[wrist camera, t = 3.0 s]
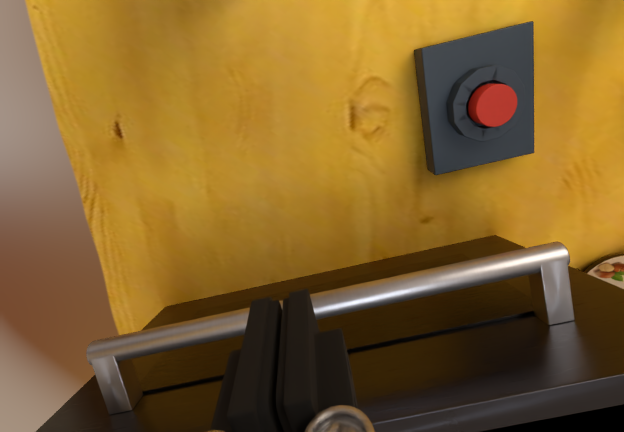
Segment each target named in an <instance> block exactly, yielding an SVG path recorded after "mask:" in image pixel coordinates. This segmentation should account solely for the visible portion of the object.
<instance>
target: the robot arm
mask: <svg viewBox="0 0 624 432" xmlns="http://www.w3.org/2000/svg"><path fill="white" fill-rule="evenodd" d="M206 432H375V430H374V428H373V425H372V423H371V422H370V420H369V418H368V417H367V415H366V414H364V413H363V412H362V411H361V410H360V409H358V405H357V399H356V393H355V388H354V382H353V376H352V371H351V366H350V362H349V357H348V353H347V348H346V344H345V340H344V336H343V332H342V329H341V328H338V329H333V330H328V331H324V332H320V331H319V327H318V324H317V320H316V316H315V313H314V309H313V305H312V301H311V298H310V294H309V291H308V289H303V290H299V291H294V292H290V293H289V298H285V299H283V307H282V308H281V305H280V302H279V300H275V301H273V299H272V298H271V297H266V298H261V299H257V300H253V301H252V302H251V306H250V311H249V316H248V320H247V325H246V329H245V334H244V339H243V343H242V348H241V349H237V350H233V351H231V352H230V355H229V358H228V362H227V366H226V370H225V374H224V377H223V381H222V385H221V389H220V393H219V397H218V401H217V405H216V409H215V413H214V417H213V421H212V424H211V428H210V431H206Z"/></svg>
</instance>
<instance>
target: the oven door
mask: <svg viewBox="0 0 624 432" xmlns="http://www.w3.org/2000/svg"><path fill="white" fill-rule="evenodd" d="M569 263H570V256H569V253H568V250H567V249H566V247H565V246H564V245H563V244H562V243H560V242H553V243H548V244H543V245H539V246H534V247H529V248H525V247H523V246H520V245H518V244H516V243H513V242H511V241H508V240H506V239H504V238H501V237H499V236H497V235H494V236H489V237H485V238H480V239H475V240H471V241H466V242H462V243H457V244H452V245H448V246H443V247H438V248H434V249H429V250H425V251H420V252H415V253H411V254H406V255H402V256H397V257H392V258H388V259H383V260H379V261H374V262H369V263H365V264H360V265H356V266H351V267H346V268H342V269H337V270H333V271H328V272H323V273H319V274H314V275H310V276H305V277H300V278H296V279H291V280H287V281H282V282H277V283H273V284H268V285H264V286H259V287H254V288H250V289H245V290H241V291H236V292H231V293H227V294H222V295H218V296H213V297H208V298H204V299H199V300H194V301H190V302H185V303H181V304H176V305H171V306H167V307H165V308H164V309H163V310H162V311H161V312H160V313H159V314H158V315H157V316H156V317H155V318H154V319H152V320H151V321H150V322H149V323H148V324H147V325H146V326H145V327H144V328H143V329H142V330H141V331H138V332H133V333H128V334H124V335H119V336H114V337H110V338H105V339H100V340H96V341H93V342H91V343H90V344H89V346H88V348H87V360H88V362H89V364H90V365H92V366H93V369H94V372H95V375H94V376H93V377H92V378H91V379H90V380H89V381H88V382H87V383H86V384H85V385H84V386H83V387H82V388H81V389H80V390H79V391H78V392H77V393H76V394H74V395H73V396H72V397H71V398H70V399H69V400H68V401H67V402H66V403H65V404H64V405H63V406H62V407H61V408H60V409H59V410H58V411H57V412H56V413H55V414H54V415H53V416H52V417H51V418H50V419H49V420H47V421H46V423H44V424H43V425H42V426H41V427H40V428H39V429H38V430H37V431H36V432H206V431H210V428H211V424H212V421H213V417H214V413H215V409H216V405H217V401H218V397H219V393H220V389H221V385H222V381H223V377H224V374H225V370H226V366H227V362H228V358H229V355H230V352H231V351H233V350H237V349H241V348H242V343H243V339H244V334H245V329H246V325H247V320H248V316H249V311H250V306H251V302H252V301H253V300H257V299H261V298H266V297H271V298H272V299H273V301H275V300H279V302H280V305H281V308H282V307H283V299H285V298H289V293H290V292H294V291H299V290H303V289H308V291H309V294H310V298H311V301H312V305H313V309H314V313H315V316H316V320H317V324H318V327H319V331H320V332H324V331H328V330H333V329H338V328H341V329H342V332H343V336H344V340H345V344H346V348H347V353H348V357H349V362H350V366H351V371H352V376H353V382H354V388H355V393H356V399H357V405H358V409H360V410H361V411H362V412H363V413H364V414H366V415H367V417H368V418H369V420H370V422H371V423H372V425H373V428H374V430H375V432H481V431H486V430H492V429H497V428H502V427H507V426H513V425H518V424H523V423H528V422H534V421H539V420H544V419H549V418H555V417H560V416H565V415H570V414H576V413H581V412H586V411H591V410H596V409H602V408H607V407H612V406H617V405H623V404H624V289H622V288H620V287H618V286H615V285H613V284H610V283H608V282H606V281H603V280H601V279H599V278H596V277H594V276H591V275H589V274H587V273H584V272H582V271H580V270H577V269H575V268H573V267H570V266H568V265H569Z"/></svg>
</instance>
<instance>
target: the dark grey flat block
mask: <svg viewBox="0 0 624 432" xmlns="http://www.w3.org/2000/svg"><path fill="white" fill-rule="evenodd" d="M414 56H415V64H416V73H417V82H418V90H419V99H420V108H421V116H422V125H423V134H424V142H425V151H426V160H427V168H428V170H429V171H430V172H432V173H433V174H434V175H439V174H443V173H447V172H452V171H456V170H461V169H465V168H469V167H474V166H478V165H483V164H487V163H491V162H496V161H500V160H505V159H509V158H513V157H518V156H522V155H527V154H531V153H534V43H533V21H531V22H527V23H522V24H518V25H514V26H510V27H506V28H502V29H498V30H494V31H490V32H486V33H481V34H477V35H473V36H469V37H465V38H461V39H457V40H453V41H449V42H445V43H441V44H437V45H432V46H428V47H424V48H420V49H416V50H414ZM486 84H504V85H507V86H509V87H511V88H512V89H513V90H514V92H515V93H516V96H517V107H516V110H515V113H514V115H513V116H512V117H511V118H510V120H508V121H507V122H506V123H504V124H503V125H500V126H497V127H489V126H485V125H481V124H478V123H476V122H474V121H473V120H472V119H471V117H470V115H469V112H468V103H469V100H470V98H471V96H472V94H473V93H474V92H475V91H476V90H477V89H478V88H479V87H481V86H483V85H486Z"/></svg>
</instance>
